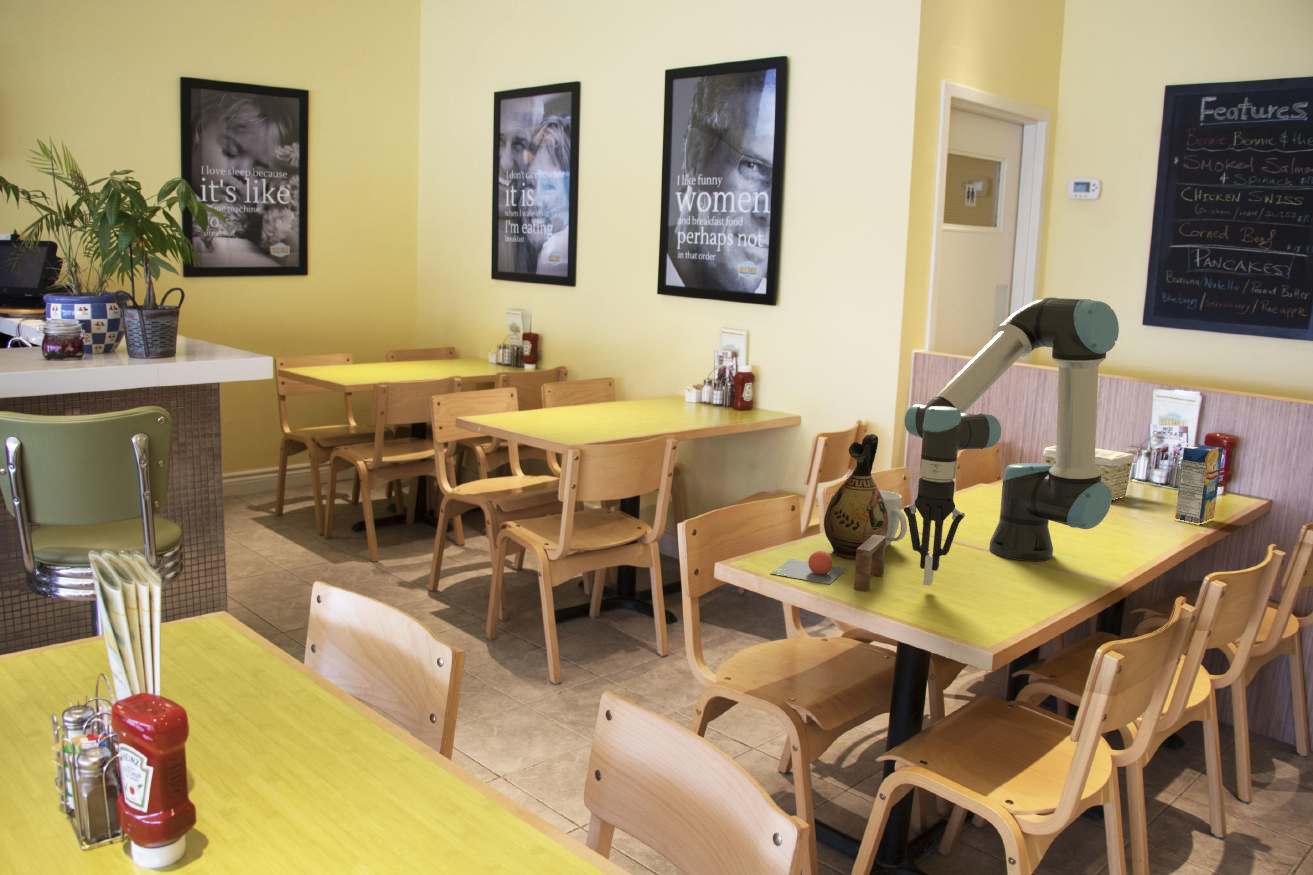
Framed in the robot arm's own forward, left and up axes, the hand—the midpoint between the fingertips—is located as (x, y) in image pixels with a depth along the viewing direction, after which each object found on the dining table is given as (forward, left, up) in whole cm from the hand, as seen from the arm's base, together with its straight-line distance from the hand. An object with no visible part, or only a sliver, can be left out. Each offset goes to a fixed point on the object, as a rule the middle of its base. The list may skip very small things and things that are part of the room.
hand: (927, 583), depth 226 cm
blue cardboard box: (-55, -114, -2) cm, 127 cm away
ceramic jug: (+22, -21, -2) cm, 30 cm away
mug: (+19, -33, -2) cm, 38 cm away
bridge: (+13, 0, -2) cm, 13 cm away
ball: (+24, +1, +1) cm, 24 cm away
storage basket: (-23, -135, -2) cm, 137 cm away
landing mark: (+27, 0, -2) cm, 27 cm away
